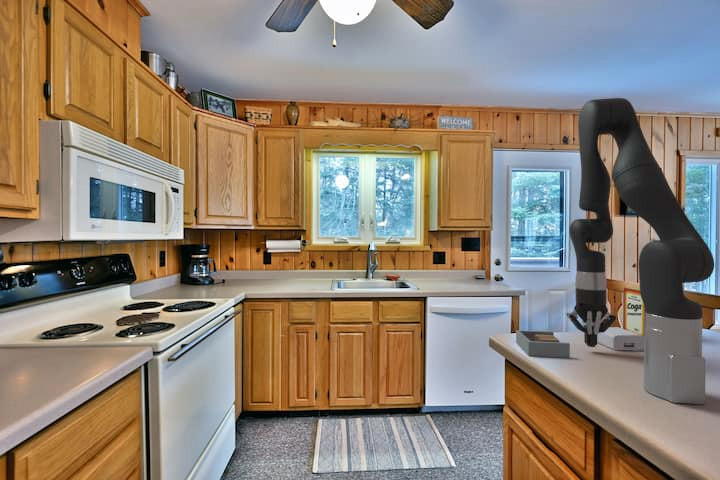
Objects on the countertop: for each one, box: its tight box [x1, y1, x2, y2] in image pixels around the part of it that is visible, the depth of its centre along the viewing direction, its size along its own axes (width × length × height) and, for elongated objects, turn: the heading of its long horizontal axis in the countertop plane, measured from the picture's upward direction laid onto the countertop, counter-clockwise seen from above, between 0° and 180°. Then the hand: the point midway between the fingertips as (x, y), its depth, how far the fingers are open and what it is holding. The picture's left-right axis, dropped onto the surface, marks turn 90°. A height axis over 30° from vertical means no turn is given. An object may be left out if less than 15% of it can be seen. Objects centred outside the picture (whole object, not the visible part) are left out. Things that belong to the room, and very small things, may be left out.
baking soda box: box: [622, 287, 645, 336], centre depth 116 cm, size 10×6×16 cm
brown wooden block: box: [535, 335, 560, 342], centre depth 102 cm, size 5×5×4 cm
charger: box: [597, 326, 644, 351], centre depth 109 cm, size 5×9×15 cm
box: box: [515, 329, 571, 359], centre depth 102 cm, size 12×11×4 cm
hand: (591, 346), depth 100 cm, fingers closed
